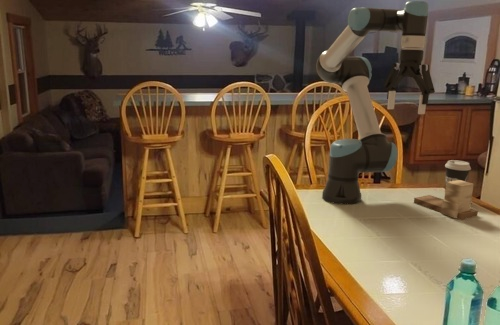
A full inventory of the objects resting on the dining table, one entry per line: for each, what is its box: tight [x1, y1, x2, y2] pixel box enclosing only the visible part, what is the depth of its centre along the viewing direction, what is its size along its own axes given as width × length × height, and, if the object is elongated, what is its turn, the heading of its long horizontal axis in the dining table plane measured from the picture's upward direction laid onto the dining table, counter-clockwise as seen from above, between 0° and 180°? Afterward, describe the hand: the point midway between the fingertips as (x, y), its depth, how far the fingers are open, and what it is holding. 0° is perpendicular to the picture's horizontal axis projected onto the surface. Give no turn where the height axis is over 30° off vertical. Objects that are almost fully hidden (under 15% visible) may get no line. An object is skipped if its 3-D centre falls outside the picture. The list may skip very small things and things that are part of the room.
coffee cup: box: [444, 159, 472, 191], centre depth 189 cm, size 10×10×15 cm
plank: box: [413, 194, 479, 221], centre depth 177 cm, size 21×9×2 cm, turn 31°
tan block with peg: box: [440, 180, 474, 219], centre depth 170 cm, size 6×10×12 cm, turn 121°
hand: (405, 111), depth 164 cm, fingers open, 13 cm apart
